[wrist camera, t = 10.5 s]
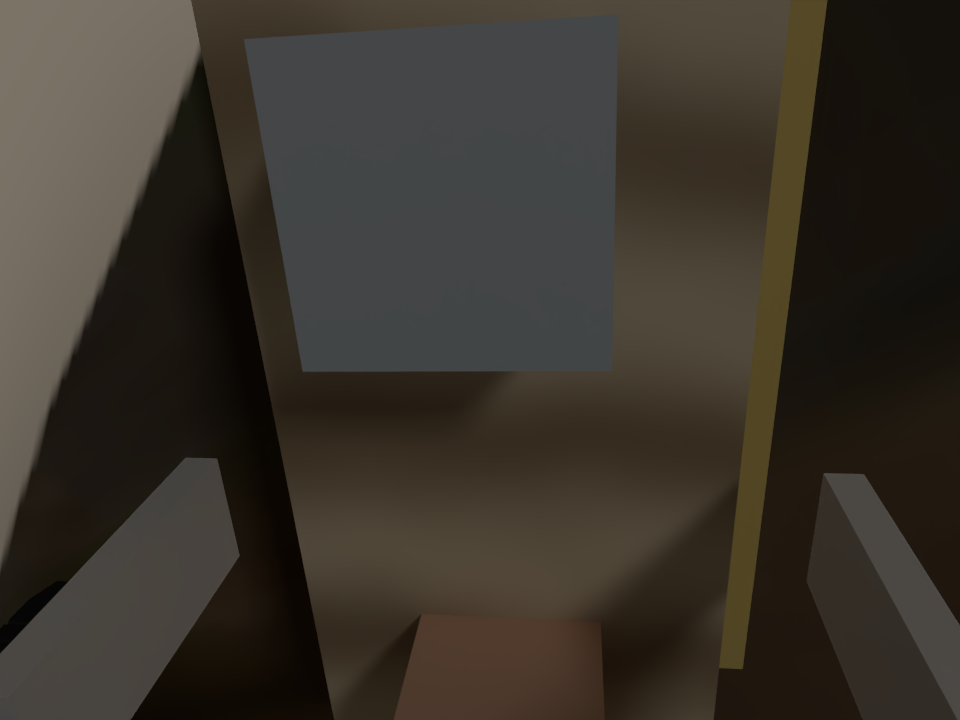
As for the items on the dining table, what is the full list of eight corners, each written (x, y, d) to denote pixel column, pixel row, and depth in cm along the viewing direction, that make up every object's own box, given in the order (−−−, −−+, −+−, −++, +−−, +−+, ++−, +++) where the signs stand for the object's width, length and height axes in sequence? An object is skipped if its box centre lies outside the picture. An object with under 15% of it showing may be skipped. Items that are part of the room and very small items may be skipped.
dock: (718, 574, 32) (742, 668, 27) (366, 562, 34) (333, 647, 29) (788, -122, 21) (847, -163, 17) (269, -78, 23) (192, -104, 19)
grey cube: (601, 271, 15) (611, 370, 11) (377, 276, 16) (302, 371, 11) (604, 17, 13) (618, 14, 9) (348, 34, 14) (243, 39, 9)
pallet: (677, 622, 27) (705, 786, 21) (390, 609, 29) (342, 760, 23) (727, -54, 18) (800, -91, 12) (301, -22, 19) (182, -42, 14)
